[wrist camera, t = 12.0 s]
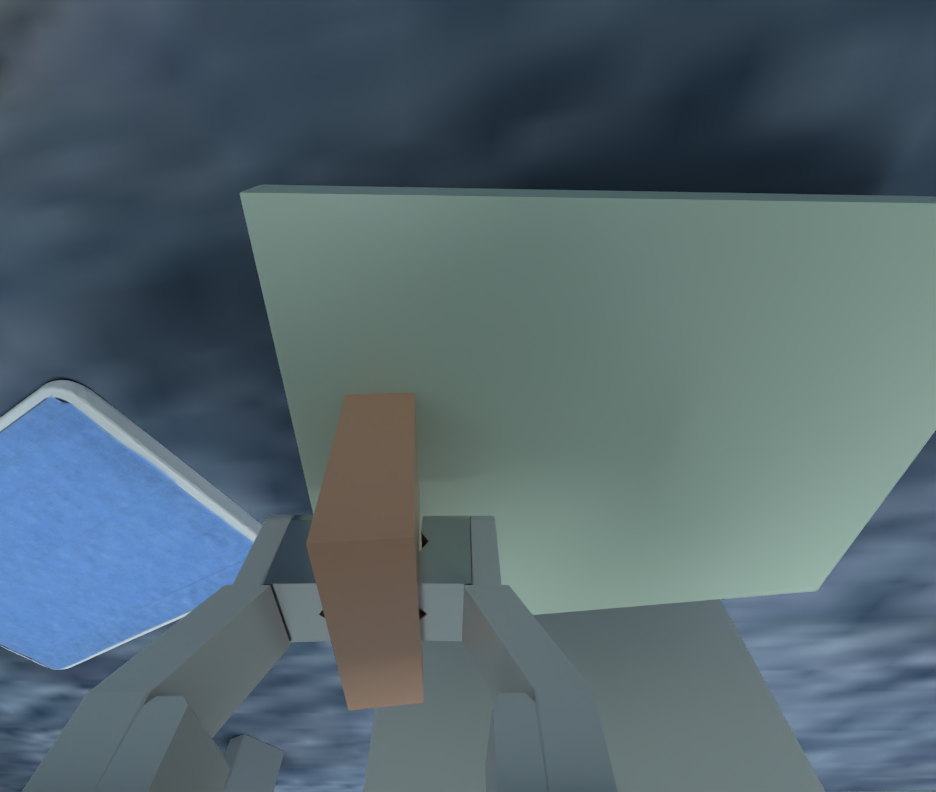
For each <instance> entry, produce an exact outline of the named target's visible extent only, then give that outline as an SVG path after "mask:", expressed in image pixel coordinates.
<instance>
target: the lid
mask: <svg viewBox="0 0 936 792" xmlns="http://www.w3.org/2000/svg"><path fill="white" fill-rule="evenodd" d="M239 194H240V198H241V202H242V207H243V211H244V215H245V220H246V224H247V228H248V233H249V237H250V241H251V246H252V250H253V254H254V259H255V263H256V267H257V272H258V276H259V280H260V285H261V289H262V293H263V298H264V302H265V306H266V311H267V315H268V319H269V324H270V328H271V332H272V337H273V341H274V345H275V350H276V354H277V358H278V363H279V367H280V371H281V376H282V380H283V385H284V389H285V393H286V398H287V402H288V406H289V411H290V415H291V419H292V424H293V428H294V432H295V437H296V441H297V445H298V450H299V454H300V458H301V463H302V467H303V471H304V476H305V480H306V484H307V489H308V493H309V497H310V502H311V506H312V510H313V515H314V516H313V520H312V523H311V527H310V531H309V535H308V538H307V542H306V546H307V550H308V554H309V558H310V562H311V566H312V569H313V573H314V577H315V581H316V585H317V589H318V593H319V597H320V601H321V605H322V608H323V612H324V616H325V620H326V624H327V628H328V632H329V636H330V640H331V644H332V647H333V651H334V655H335V659H336V663H337V667H338V671H339V675H340V679H341V683H342V686H343V690H344V694H345V698H346V702H347V706H348V710H349V711H350V710H359V709H369V708H379V707H388V706H398V705H408V704H417V703H424V689H423V641H421V632H420V608H419V597H418V562H419V551H420V550H421V549H422V541H421V529H422V520H423V516H494V518H495V521H496V531H497V542H498V552H499V563H500V573H501V583H502V585H509V586H510V587H511V588H512V589H513V591H514V592H515V593H516V594H517V596H518V597H519V598H520V599H521V601H522V602H523V603H524V605H525V606H526V607H527V608H528V610H529V611H530V612H531V613H532V615H539V614H551V613H563V612H575V611H586V610H598V609H610V608H622V607H634V606H645V605H657V604H669V603H681V602H693V601H704V600H716V599H728V598H740V597H752V596H763V595H775V594H787V593H799V592H811V591H817V590H818V588H819V587H820V586H821V584H822V583H823V582H824V580H825V579H826V578H827V576H828V575H829V574H830V572H831V571H832V570H833V568H834V567H835V566H836V564H837V563H838V561H839V560H840V559H841V557H842V556H843V555H844V553H845V552H846V551H847V549H848V548H849V547H850V545H851V544H852V543H853V541H854V540H855V538H856V537H857V536H858V534H859V533H860V532H861V530H862V529H863V528H864V526H865V525H866V524H867V522H868V521H869V520H870V518H871V517H872V516H873V514H874V513H875V511H876V510H877V509H878V507H879V506H880V505H881V503H882V502H883V501H884V499H885V498H886V497H887V495H888V494H889V493H890V491H891V490H892V489H893V487H894V486H895V484H896V483H897V482H898V480H899V479H900V478H901V476H902V475H903V474H904V472H905V471H906V470H907V468H908V467H909V466H910V464H911V463H912V461H913V460H914V459H915V457H916V456H917V455H918V453H919V452H920V451H921V449H922V448H923V447H924V445H925V444H926V443H927V441H928V440H929V439H930V437H931V436H932V434H933V433H934V432H935V430H936V196H883V195H825V194H768V193H711V192H654V191H597V190H540V189H483V188H426V187H368V186H311V185H259V186H256V187H253V188H250V189H248V190H245V191H242V192H239Z"/></svg>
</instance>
